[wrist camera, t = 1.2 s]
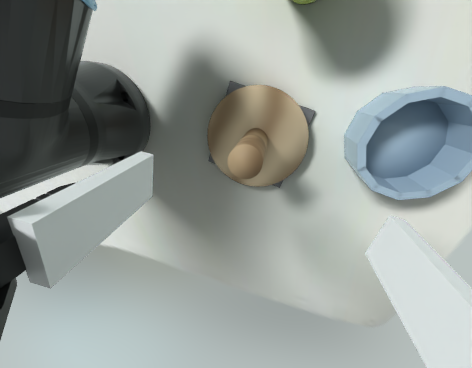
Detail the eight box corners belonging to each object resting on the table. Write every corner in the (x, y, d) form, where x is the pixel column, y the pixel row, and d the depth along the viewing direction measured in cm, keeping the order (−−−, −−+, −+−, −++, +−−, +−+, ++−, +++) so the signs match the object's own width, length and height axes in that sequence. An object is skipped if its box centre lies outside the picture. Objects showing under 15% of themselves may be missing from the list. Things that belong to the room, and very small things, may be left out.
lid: (201, 164, 34) (166, 196, 24) (225, 70, 28) (192, 58, 17) (283, 195, 33) (284, 241, 23) (326, 105, 27) (354, 115, 17)
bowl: (328, 163, 31) (337, 177, 26) (377, 74, 25) (400, 70, 20) (408, 193, 30) (433, 213, 25) (475, 108, 25) (524, 112, 20)
